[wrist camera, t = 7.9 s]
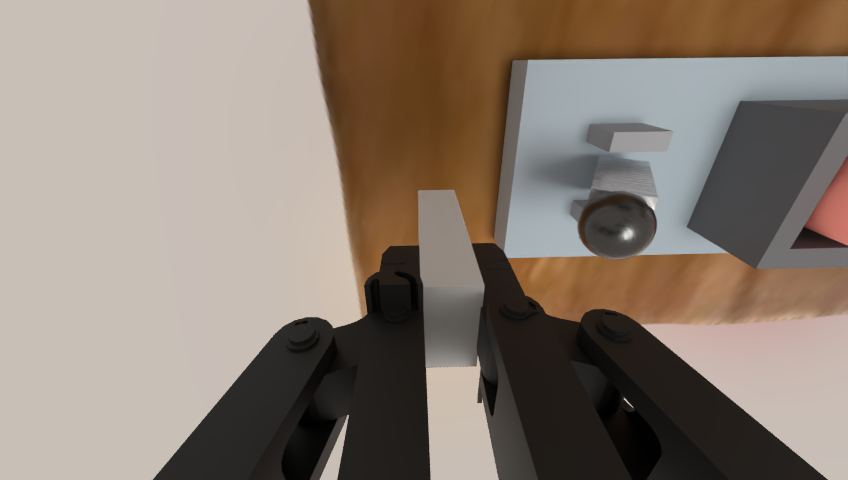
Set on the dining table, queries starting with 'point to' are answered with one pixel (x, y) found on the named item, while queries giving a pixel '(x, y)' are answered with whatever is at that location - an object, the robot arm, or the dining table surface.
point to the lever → (619, 209)
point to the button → (833, 209)
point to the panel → (678, 152)
